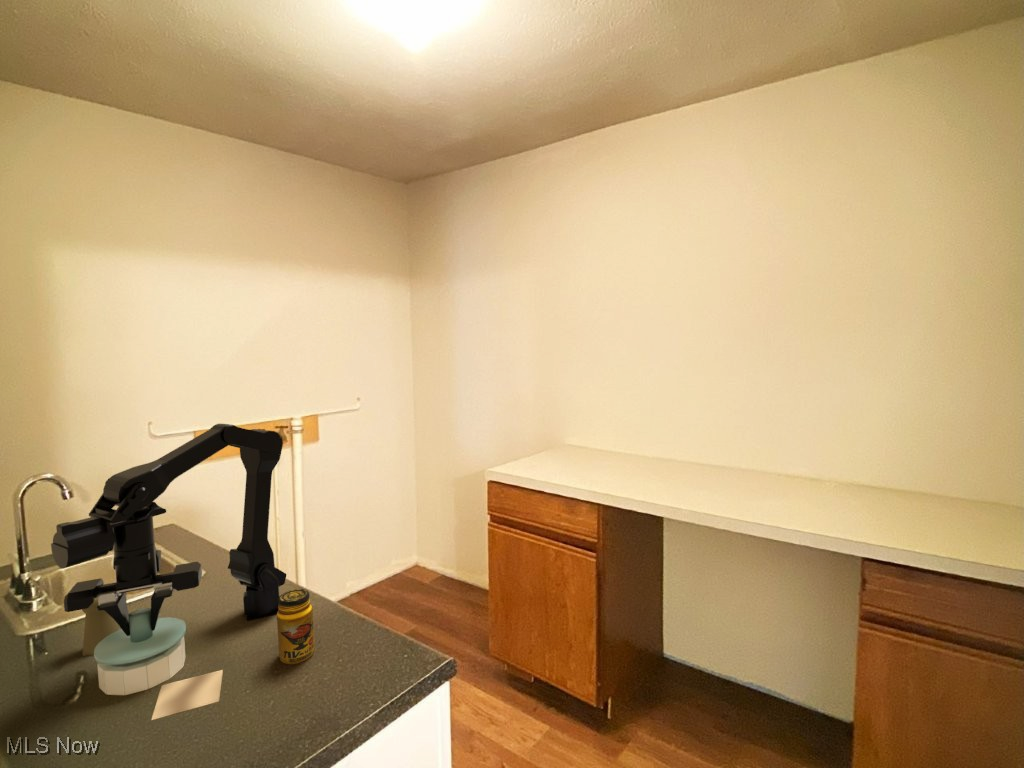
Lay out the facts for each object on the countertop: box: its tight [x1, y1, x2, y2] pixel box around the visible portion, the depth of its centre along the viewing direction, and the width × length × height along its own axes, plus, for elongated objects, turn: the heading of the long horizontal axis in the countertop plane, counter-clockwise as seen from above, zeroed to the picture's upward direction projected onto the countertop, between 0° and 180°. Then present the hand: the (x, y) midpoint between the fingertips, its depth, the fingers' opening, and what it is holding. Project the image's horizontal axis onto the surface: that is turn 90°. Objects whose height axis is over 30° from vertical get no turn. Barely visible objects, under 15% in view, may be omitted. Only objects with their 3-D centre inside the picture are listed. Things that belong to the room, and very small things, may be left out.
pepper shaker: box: [81, 598, 120, 657], centre depth 98 cm, size 6×6×11 cm
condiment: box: [276, 588, 316, 665], centre depth 94 cm, size 7×8×12 cm
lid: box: [93, 607, 187, 665], centre depth 89 cm, size 13×13×5 cm
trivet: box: [150, 669, 224, 721], centre depth 84 cm, size 9×9×1 cm
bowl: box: [96, 635, 186, 696], centre depth 90 cm, size 12×12×4 cm
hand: (141, 632), depth 90 cm, fingers closed on lid, 3 cm apart
